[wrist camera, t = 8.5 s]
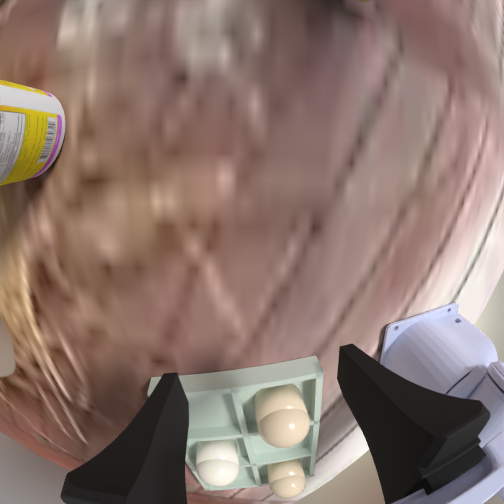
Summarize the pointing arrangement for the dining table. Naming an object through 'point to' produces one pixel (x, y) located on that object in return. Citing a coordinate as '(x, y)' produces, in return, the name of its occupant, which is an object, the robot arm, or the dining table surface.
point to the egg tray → (249, 416)
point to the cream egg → (217, 462)
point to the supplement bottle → (28, 131)
